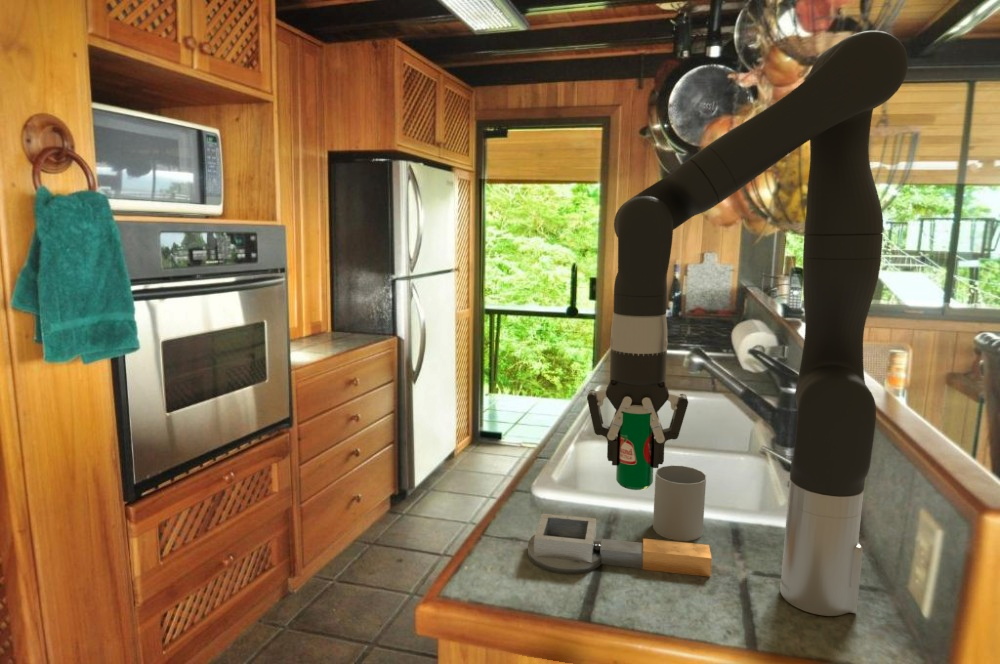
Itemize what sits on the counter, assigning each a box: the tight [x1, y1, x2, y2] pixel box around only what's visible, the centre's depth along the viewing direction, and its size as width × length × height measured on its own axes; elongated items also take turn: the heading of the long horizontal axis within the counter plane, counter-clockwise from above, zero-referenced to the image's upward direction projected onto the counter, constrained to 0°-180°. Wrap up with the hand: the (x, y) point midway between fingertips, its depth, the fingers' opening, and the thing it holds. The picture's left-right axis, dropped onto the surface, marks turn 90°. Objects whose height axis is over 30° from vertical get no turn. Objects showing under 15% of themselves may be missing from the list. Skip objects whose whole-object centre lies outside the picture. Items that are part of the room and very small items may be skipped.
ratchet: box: [527, 513, 713, 577], centre depth 107 cm, size 28×12×4 cm, turn 78°
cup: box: [652, 464, 707, 542], centre depth 117 cm, size 8×8×10 cm
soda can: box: [615, 404, 655, 491], centre depth 95 cm, size 5×5×12 cm
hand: (634, 464), depth 96 cm, fingers closed on soda can, 5 cm apart
